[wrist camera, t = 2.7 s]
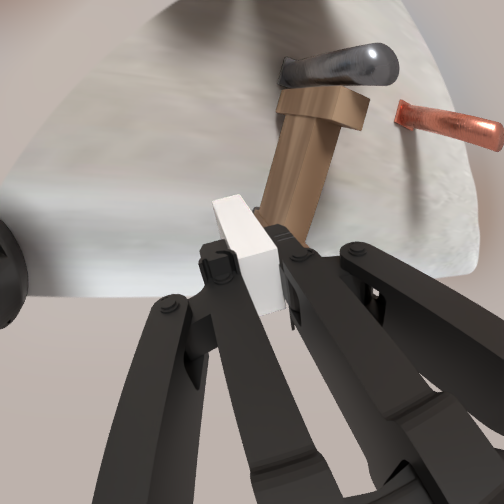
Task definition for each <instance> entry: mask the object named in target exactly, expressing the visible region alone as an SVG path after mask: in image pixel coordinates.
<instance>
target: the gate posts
mask: <svg viewBox="0 0 504 504" xmlns="http://www.w3.org/2000/svg"><path fill="white" fill-rule="evenodd" d="M398 75H399V62H398V59H397V57H396V55H395V53H394V52H393V50H392V49H391V48H390V47H388V46H387V45H385V44H382V43H372V44H366V45H361V46H356V47H351V48H346V49H342V50H337V51H333V52H329V53H324V54H320V55H317V56H313V57H309V58H305V59H302V60H298V61H297V60H294V59H291V58H288V57H285V59H284V62H283V65H282V69H281V72H280V76H279V80H278V83H277V84H278V85H281V86H285V87H288V88H291V89H294V88H307V87H323V86H359V85H368V86H388V85H391V84H393V83H394V82H395V81H396V79H397V77H398ZM394 122H396V123H398V124H399V125H401V126H403V127H405V128H407V129H409V130H411V131H413V128H416V129H420V130H424V131H429V132H433V133H436V134H440V135H444V136H448V137H451V138H455V139H458V140H462V141H465V142H468V143H472V144H475V145H478V146H481V147H484V148H487V149H490V150H493V151H496V152H499V151H500V150H501V149H502V147H503V145H504V128H503V126H502V124H501V123H499V122H495V121H491V120H487V119H483V118H479V117H475V116H470V115H465V114H461V113H456V112H451V111H445V110H440V109H434V108H428V107H421V106H414V105H410V104H408V103H407V102H405V101H403V100H400V101H399V105H398V109H397V113H396V116H395V120H394Z"/></svg>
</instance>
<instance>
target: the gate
mask: <svg viewBox="0 0 504 504" xmlns="http://www.w3.org/2000/svg"><path fill="white" fill-rule="evenodd" d="M369 102H370V99H369V98H367V97H365V96H363V95H361V94H359V93H356V92H354V91H352V90H350V89H348V88H345V87H343V86H323V87H307V88H294V89H284V90H282V91H281V94H280V98H279V101H278V105H277V109H276V113H280V114H283V115H285V119H284V123H283V126H282V130H281V133H280V137H279V140H278V144H277V148H276V151H275V155H274V158H273V162H272V165H271V169H270V173H269V176H268V180H267V183H266V187H265V191H264V194H263V198H262V201H261V205H260V207H255V208H254V209H253V211H252V213H253V214H254V216H255V217H256V218H257V220H258V221H259V223H260V224H261V226H262V227H267V226H271V225H275V224H280V225H282V226H285V227H286V228H287V229H288V230H289V231H290V233H292V234H293V236H294V237H295V238H296V239H297V240H298V241H299V243H300V244H301V245H302V246H303V247H304V248H309V246H308V245H307V244H306V243H305V240H306V237H307V234H308V231H309V228H310V225H311V222H312V219H313V216H314V213H315V210H316V207H317V204H318V201H319V198H320V195H321V191H322V188H323V185H324V182H325V179H326V176H327V172H328V169H329V166H330V163H331V160H332V156H333V153H334V150H335V146H336V143H337V140H338V136H339V133H340V129H341V127H345V128H350V129H355V130H359V131H361V130H362V127H363V123H364V120H365V116H366V113H367V109H368V105H369Z"/></svg>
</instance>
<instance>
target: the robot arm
mask: <svg viewBox="0 0 504 504" xmlns="http://www.w3.org/2000/svg"><path fill="white" fill-rule="evenodd" d="M212 204H213V208H214V212H215V216H216V220H217V224H218V228H219V232H220V237H221V240H218V241H214V242H211V243H207V244H203V246H202V247H201V249H200V256H201V258H200V260H199V263H198V265H199V268H200V271H201V274H202V277H203V281H204V284H205V286H204V288H203V289H202V290H201V291H200V292H199V293H198V294H197V295H195V296H193V297H191V298H190V299H187V298H186V297H185V296H183V295H180V294H172V295H167V296H165V297H163V298H161V299H159V300H158V301H157V302H156V303H154V305H153V307H152V308H151V311H150V314H149V316H148V319H147V321H146V324H145V327H144V329H143V332H142V335H141V338H140V340H139V344H138V346H137V349H136V352H135V354H134V358H133V360H132V363H131V367H130V369H129V372H128V375H127V378H126V381H125V384H124V387H123V390H122V393H121V397H120V400H119V403H118V406H117V410H116V413H115V416H114V420H113V423H112V426H111V430H110V433H109V437H108V440H107V444H106V448H105V452H104V455H103V459H102V463H101V467H100V471H99V475H98V479H97V483H96V488H95V492H94V496H93V501H92V504H193V499H194V487H195V477H196V467H197V455H198V447H199V437H200V427H201V419H202V410H203V401H204V393H205V385H206V376H207V368H208V359H209V354H208V352H210V351H211V350H213V349H215V348H217V347H218V348H219V353H220V357H221V362H222V365H223V370H224V374H225V378H226V382H227V386H228V390H229V394H230V398H231V402H232V406H233V410H234V413H235V417H236V421H237V425H238V428H239V432H240V436H241V439H242V443H243V447H244V450H245V454H246V457H247V461H248V464H249V468H250V479H251V484H252V487H253V491H254V495H255V498H256V501H257V504H504V450H501V449H497V448H494V447H493V446H492V445H491V443H490V442H489V440H488V439H487V438H486V436H485V435H484V433H483V432H482V431H481V429H480V428H479V427H478V425H477V424H476V423H475V422H474V420H473V419H472V417H471V416H470V415H469V413H470V414H471V415H472V416H474V417H475V418H476V419H477V420H479V421H480V422H482V423H483V424H484V425H485V426H487V427H488V428H490V429H491V430H493V431H495V432H497V433H499V434H501V435H503V436H504V320H502V319H501V318H499V317H498V316H496V315H494V314H493V313H491V312H490V311H488V310H486V309H485V308H483V307H481V306H480V305H478V304H476V303H475V302H473V301H471V300H469V299H468V298H466V297H465V296H463V295H461V294H460V293H458V292H456V291H454V290H453V289H451V288H449V287H447V286H446V285H444V284H442V283H440V282H439V281H437V280H435V279H433V278H432V277H430V276H428V275H426V274H424V273H423V272H421V271H419V270H417V269H415V268H414V267H412V266H410V265H408V264H406V263H404V262H402V261H401V260H399V259H397V258H395V257H393V256H391V255H389V254H387V253H385V252H384V251H382V250H380V249H378V248H376V247H374V246H372V245H370V244H367V243H364V242H351V243H348V244H345V245H344V246H342V247H341V249H340V256H332V257H321V256H320V255H319V254H318V252H316V251H315V250H314V249H311V248H304V247H303V246H302V245H301V244H300V243H299V241H298V240H297V239H296V238H295V237H294V236H293V234H292V233H290V231H289V230H288V229H287V228H286V227H285V226H282V225H280V224H275V225H271V226H267V227H262V226H261V224H260V223H259V221H258V220H257V218H256V217H255V216H254V214H253V213H252V211H251V210H250V209H249V207H248V206H247V204H246V203H245V202H244V200H243V199H242V197H241V196H240V194H237V195H233V196H229V197H225V198H222V199H218V200H214V201H212ZM373 288H374V289H376V290H377V291H379V296H376V295H375V294H373ZM27 291H28V275H27V269H26V265H25V261H24V258H23V255H22V252H21V250H20V248H19V246H18V244H17V242H16V240H15V238H14V236H13V235H12V233H11V232H10V230H9V229H8V228H7V226H6V225H5V224H4V223H3V222H2V221H1V220H0V329H3V328H5V327H6V326H8V325H9V324H10V323H11V322H13V320H14V319H15V318H16V316H17V315H18V313H19V311H20V309H21V308H22V306H23V304H24V302H25V299H26V296H27ZM285 300H286V301H287V303H288V305H289V312H290V319H291V327H292V330H294V329H295V327H294V325H295V326H296V328H297V330H298V331H299V333H300V335H301V337H302V339H303V341H304V342H305V345H306V346H307V348H308V350H309V352H310V354H311V356H312V357H313V359H314V361H315V363H316V365H317V367H318V369H319V371H320V373H321V374H322V376H323V378H324V380H325V382H326V384H327V386H328V387H329V389H330V391H331V393H332V395H333V397H334V399H335V401H336V403H337V404H338V406H339V408H340V410H341V412H342V414H343V416H344V418H345V419H346V421H347V423H348V425H349V427H350V429H351V430H352V433H353V434H354V436H355V438H356V440H357V442H358V444H359V445H360V447H361V450H362V451H363V453H364V455H365V457H366V459H367V462H368V466H369V473H370V476H371V479H372V481H373V483H374V485H375V487H376V489H377V491H374V492H370V493H366V494H361V495H357V496H351V497H346V498H343V496H342V494H341V492H340V490H339V488H338V485H337V483H336V481H335V479H334V477H333V475H332V472H331V470H330V468H329V467H328V464H327V462H326V460H325V459H324V457H323V456H322V454H321V453H319V452H318V451H317V449H316V447H315V445H314V443H313V441H312V439H311V437H310V434H309V432H308V430H307V427H306V425H305V423H304V421H303V418H302V416H301V414H300V412H299V409H298V407H297V405H296V403H295V400H294V398H293V395H292V393H291V391H290V388H289V386H288V384H287V382H286V379H285V377H284V375H283V372H282V370H281V368H280V365H279V363H278V361H277V358H276V356H275V353H274V351H273V349H272V346H271V345H270V342H269V339H268V337H267V335H266V332H265V330H264V328H263V325H262V323H261V320H260V318H259V316H263V315H266V314H269V313H272V312H276V311H279V310H282V309H286V304H285ZM419 373H420V374H421V375H422V376H424V377H425V378H426V379H427V380H429V381H430V382H431V383H432V384H434V385H435V386H436V387H438V388H439V389H440V390H441V391H442V392H435V391H433V390H432V389H431V388H430V387H429V385H428V384H427V383H426V382H425V380H424V379H423V378H422V376H421V375H420V374H419ZM468 412H469V413H468Z"/></svg>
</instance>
